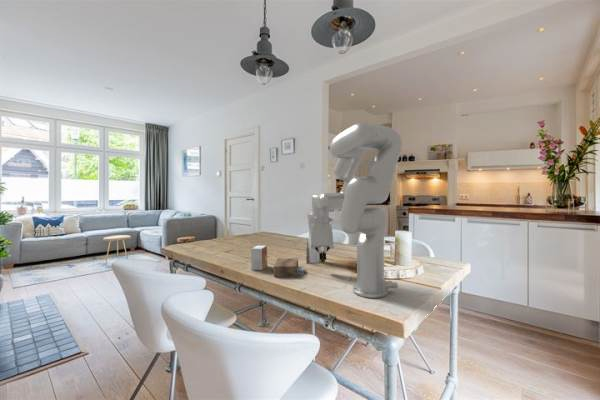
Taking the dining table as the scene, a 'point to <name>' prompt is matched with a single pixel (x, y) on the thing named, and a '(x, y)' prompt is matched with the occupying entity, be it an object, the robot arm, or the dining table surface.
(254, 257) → the small box
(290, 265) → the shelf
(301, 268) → the tile
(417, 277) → the dining table surface
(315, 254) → the skyscraper
